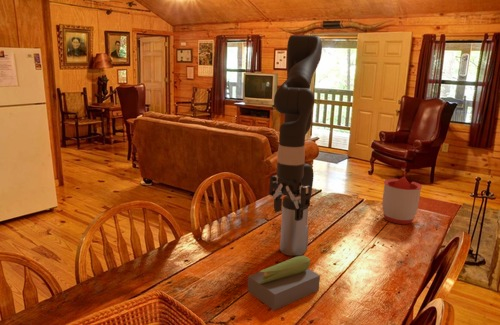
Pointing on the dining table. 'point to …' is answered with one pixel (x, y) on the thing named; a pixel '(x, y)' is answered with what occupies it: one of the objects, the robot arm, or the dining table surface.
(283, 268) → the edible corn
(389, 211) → the citrus juicer
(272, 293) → the plinth
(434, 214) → the dining table surface
